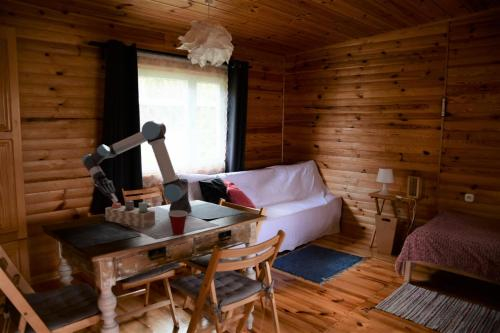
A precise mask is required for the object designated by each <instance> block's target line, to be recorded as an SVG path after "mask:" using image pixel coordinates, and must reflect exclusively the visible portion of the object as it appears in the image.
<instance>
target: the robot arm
mask: <svg viewBox="0 0 500 333" xmlns="http://www.w3.org/2000/svg"><path fill="white" fill-rule="evenodd" d="M166 133H167V126H166V124H164V122H163V121H160V120H149V121H146V122H145V123H143V125H142V127H141V131H140V132H137V133H135V134H133V135H131V136H128V137H126V138H124V139H122V140H120V141H118V142H115V143H112V144H111V145H109V146H107V145H105V144H101V145H99V146H98V147H97V149H95V150H94V151H93V152H92V153H91V154H90V153H89V154H85V155H84V156H83V157H82V158H81V162H82V164H83V166H84V167H85V169H86V170H87V171H88V173H89V176H91V178H92V179H93V181H94V182H95V184H94V187H95V188H97V189H98V190H99V192H101V193H102V194H103V195H104V196H106V197H107V198H108V197H109V199H110V200H111V201H112V202H113V204H115V203H118V201H119V200H118V197H117V196H116V194H115V192H116V187H115V186H114V184H113V180H112V179H111V180H109V179H108V178H107V176H106V174H105V172H104V171H103V170H102V167H101V166H100V165H99V164H100V163H102V162H103V160H105V159H110V158H115V157H116V156H118V155H119V154H122V153H124V152H126V151H128V150H130V149H132V148H135V147H137V146H139V145H142V144H144V143H146V142H147V144H148V145H149V146H151V148H152V151H153V154H154V155H153V156H154V157H155V160H156V162H157V165H158V168H159V172H160V175H161V177H162V179H163V180H162V183H161V185H162V188H163V190H162V194H163V197H164V198H165V200H167V201H168V202H170V206H169V208H168V209H169V212H171V211H185V212H187V213H190V212H192V206H191V203H190V200H189V198H190V197H189V180H188V178H180V177H178V176H177V175H176V172H175V169H174V166H173V164H172V160H171V157H170V155H169V152H168V149H167V146H166V144H165V140H167V139H166V136H165V135H166ZM169 212H168V213H169Z"/></svg>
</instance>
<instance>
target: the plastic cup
mask: <svg viewBox="0 0 500 333" xmlns="http://www.w3.org/2000/svg"><path fill="white" fill-rule="evenodd" d="M188 213H189V212H185V211H171V212H167V215H168V217H169V220H170V227H171V231H172V234H173V235H174V236H181V235H183V234H184V232H185V225H186V220H187V216H188Z"/></svg>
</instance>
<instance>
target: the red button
mask: <svg viewBox="0 0 500 333" xmlns="http://www.w3.org/2000/svg"><path fill="white" fill-rule="evenodd" d="M121 206H122V203H121V202H117V203H115V204H114V203H112V206H111V207H112V208H114V209H117V208H121Z"/></svg>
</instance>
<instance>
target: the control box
mask: <svg viewBox="0 0 500 333" xmlns="http://www.w3.org/2000/svg"><path fill="white" fill-rule="evenodd" d="M105 221H108V222H112V223H118V224H123V225H127V224H128V225H127V226H132V225H133V227H139V228H146V227H149V226H152V225H155V224H156V211H155V210H151V209H148V211H147V212H139V207H134V209H133V210H125V205H121V208H117V209H114V208H112V206H108V207H105Z"/></svg>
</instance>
